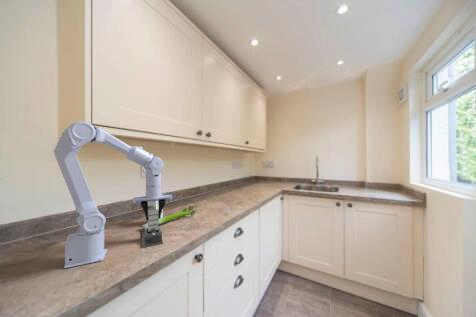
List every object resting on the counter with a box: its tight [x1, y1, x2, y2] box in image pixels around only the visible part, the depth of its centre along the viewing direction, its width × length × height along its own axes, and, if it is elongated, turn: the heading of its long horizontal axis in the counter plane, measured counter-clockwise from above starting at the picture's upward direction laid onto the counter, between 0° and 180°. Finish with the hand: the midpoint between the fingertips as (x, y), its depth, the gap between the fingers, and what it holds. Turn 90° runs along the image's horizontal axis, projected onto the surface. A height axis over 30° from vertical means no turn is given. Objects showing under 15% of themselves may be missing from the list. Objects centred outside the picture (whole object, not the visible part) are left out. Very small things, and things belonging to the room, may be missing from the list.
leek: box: [140, 205, 196, 230], centre depth 95 cm, size 6×7×30 cm
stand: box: [141, 226, 164, 249], centre depth 76 cm, size 7×17×4 cm, turn 28°
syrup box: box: [146, 193, 164, 224], centre depth 94 cm, size 6×6×14 cm
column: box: [148, 209, 160, 232], centre depth 75 cm, size 4×4×8 cm
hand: (153, 218), depth 75 cm, fingers closed on column, 4 cm apart
